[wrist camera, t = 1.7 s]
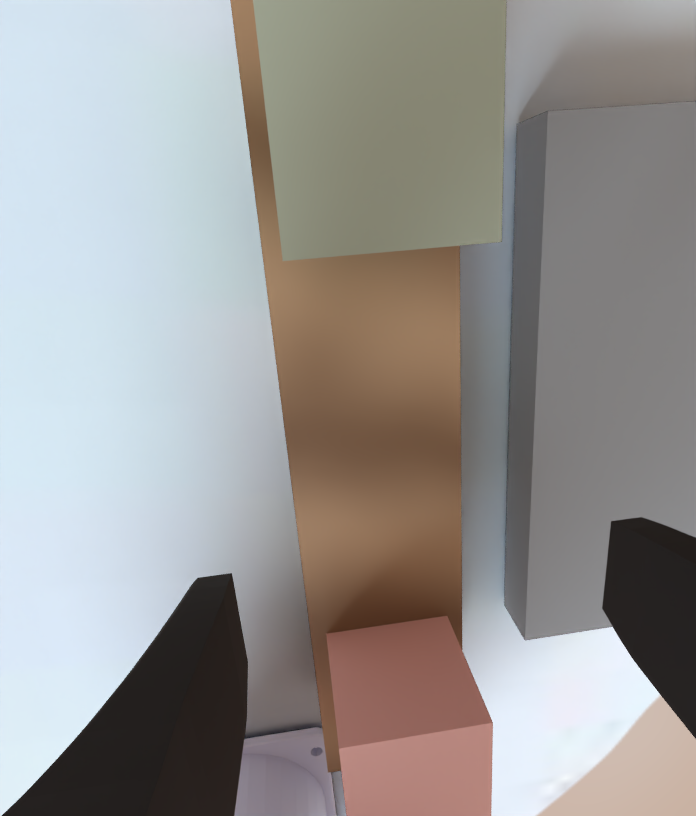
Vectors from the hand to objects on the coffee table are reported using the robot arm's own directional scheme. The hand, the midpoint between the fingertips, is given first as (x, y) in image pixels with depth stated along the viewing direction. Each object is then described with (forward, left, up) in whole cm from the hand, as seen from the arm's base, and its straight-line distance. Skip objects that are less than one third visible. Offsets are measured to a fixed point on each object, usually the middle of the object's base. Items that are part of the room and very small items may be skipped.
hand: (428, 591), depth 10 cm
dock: (0, -9, -9) cm, 13 cm away
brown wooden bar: (0, 0, -10) cm, 10 cm away
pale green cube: (+8, 0, -6) cm, 10 cm away
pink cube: (-8, 0, -6) cm, 10 cm away
